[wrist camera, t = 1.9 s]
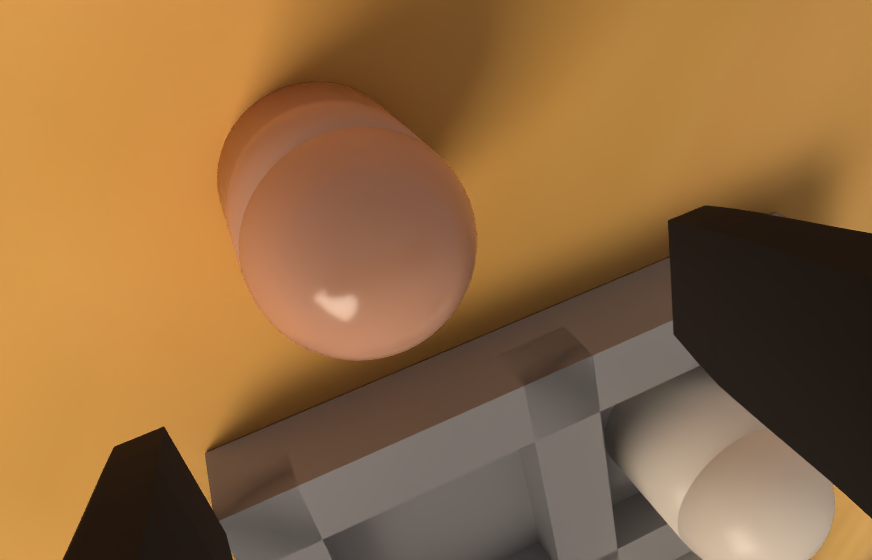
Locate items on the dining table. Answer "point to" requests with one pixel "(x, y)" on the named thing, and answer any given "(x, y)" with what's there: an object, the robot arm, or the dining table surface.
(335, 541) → the egg tray
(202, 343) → the dining table surface
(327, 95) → the terracotta egg
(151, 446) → the robot arm
